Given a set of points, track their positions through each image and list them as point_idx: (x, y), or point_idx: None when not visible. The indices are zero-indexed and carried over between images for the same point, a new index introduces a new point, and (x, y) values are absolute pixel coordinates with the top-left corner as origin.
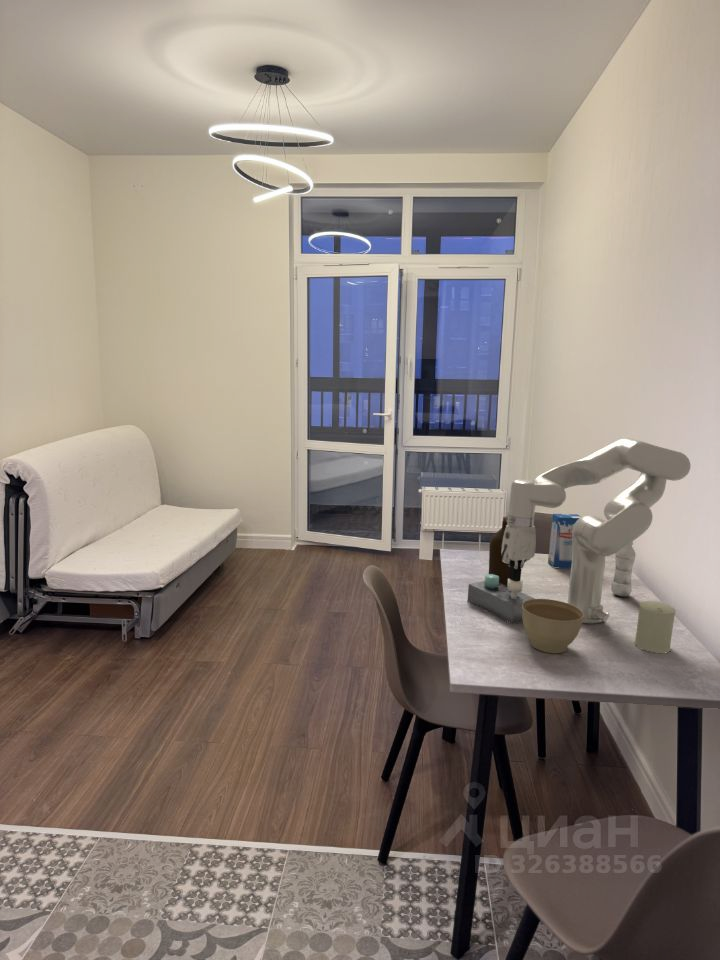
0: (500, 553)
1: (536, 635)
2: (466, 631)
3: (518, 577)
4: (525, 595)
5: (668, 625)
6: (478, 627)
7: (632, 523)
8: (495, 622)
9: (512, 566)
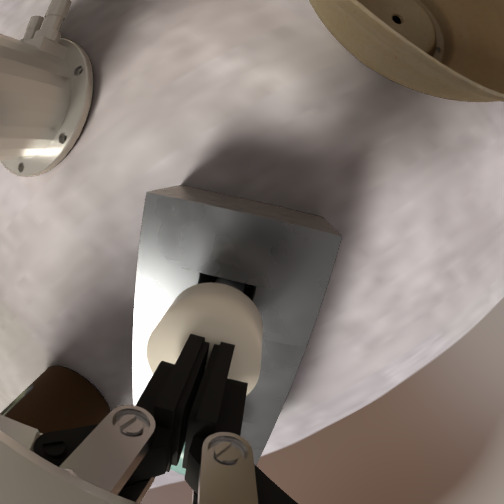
0: None
1: (497, 31)
2: (479, 287)
3: (203, 358)
4: (148, 274)
5: None
6: (436, 283)
7: None
8: (357, 272)
9: (264, 475)
